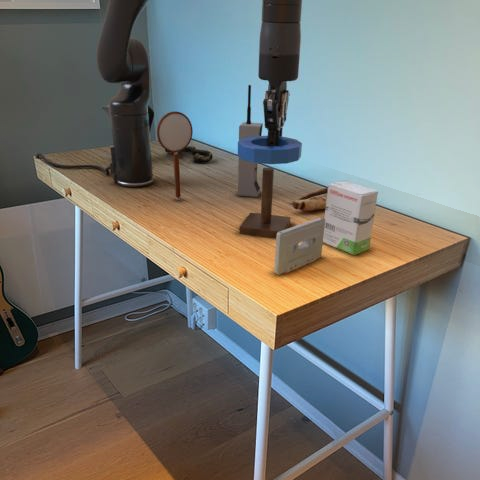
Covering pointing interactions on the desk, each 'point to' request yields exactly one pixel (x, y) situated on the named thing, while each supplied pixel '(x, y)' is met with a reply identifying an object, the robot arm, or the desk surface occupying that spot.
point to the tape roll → (269, 150)
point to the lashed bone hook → (312, 201)
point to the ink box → (349, 216)
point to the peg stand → (265, 213)
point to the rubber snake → (206, 154)
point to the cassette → (297, 255)
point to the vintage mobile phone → (246, 168)
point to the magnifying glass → (175, 139)
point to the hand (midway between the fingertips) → (274, 147)
